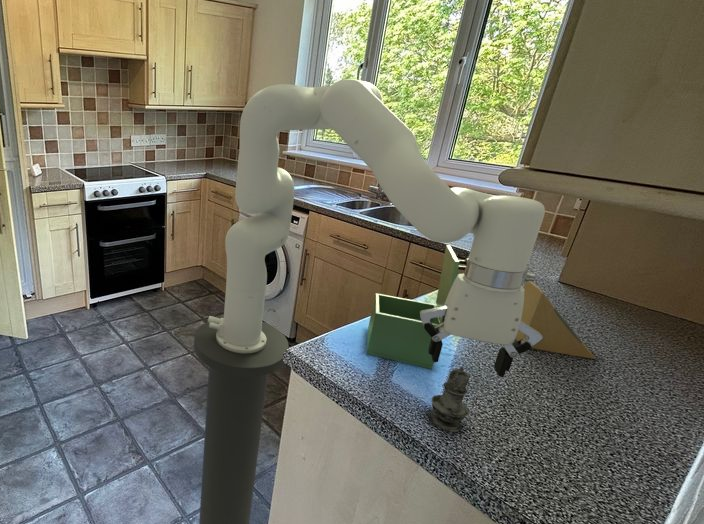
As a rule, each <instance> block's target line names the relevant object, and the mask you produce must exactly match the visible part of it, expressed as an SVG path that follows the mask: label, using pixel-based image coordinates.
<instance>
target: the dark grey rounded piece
mask: <svg viewBox="0 0 704 524" xmlns="http://www.w3.org/2000/svg"><path fill="white" fill-rule="evenodd" d="M469 380H470V375H469V374H468V373H467V372H466V371H465V369H464V367H463V366H460V367H459V369H458V368H454V369H452V370H451V371H450V372H449V375H448V378H447V381H446V382H444V383H443V388H444V389H443V392H442V394H436V395H433V396H432V397H431V399H430V400H431V401H430V402H431V406H432V410H431V411H430V412H429V413H428V419H429V420H430V422H431V423H432V424H433V425H434V426H436V427H437V428H439V429H441V430H443V431H446V432H451V433H457V432H460V431H461V429H462V424H461V421H463V420H464V419H465V418H466V417H468V415H469V409H468V407H467V406H466V405H465V404H464V403H463V399H464V397H465V395H467V394H468V390H467V386H468V383H469Z"/></svg>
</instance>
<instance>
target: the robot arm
mask: <svg viewBox="0 0 704 524" xmlns="http://www.w3.org/2000/svg"><path fill="white" fill-rule="evenodd" d="M239 121H240V122H239V150H238V159H237V168H236V169H237V170H236V181H235V190H234V191H235V203H236V206H237V207H238V208H239V210H240V211H241V212H243V213H245V214H250V215H251V216H248V217H245V218H243V219H241V220H239V221H237V222H235V223H234V224H232V226H231V227H230V228H229V229H228V230H227V232H226V234H225V238H224V239H225V240H224V246H225V255H226V279H225V280H226V281H225V283H226V285H225V294H224V295H225V296H224V309H223V317H224V318H221V317H216V316H213V315H212V316H211V315H209V316H208V318H207V321H208V323H210V324H209V328H213V329H218V331H217V333H216V340H217V342H218V343H219V344H220V345H221V346H222V347H223V348H225V349H227V350H229V351H232V352H235V353H243V354H247V353H255V352H258V351H260V350H262V349H263V348H264V347H265V345H266V335H265V334H264V333H263V332H262V331H261V328H262V321H263V320H264V309H265V300H266V293H267V292H266V291H267V281H268V272H267V265H266V260H265V259H266V256H267V255H269V254H270V253H272V252H274V251H276V250H278V249H280V248H281V247H283V245H284V244H286V242H287V240H288V237H289V235H290V230H291V223H292V217H293V208H294V201H295V190H296V189H295V184H294V180H293V177H292V176H291V174H290V173H289V172H288V171H287V170H286V169H284V168H282V167H279V159H280V144H279V138H278V135H279V133H280V132H283V131H306V130H309V131H310V130H333V131H334V132H335V133H336V134H337V136H339V137H340V139H341V140H343V142H344V143H345V144H346V146H348V147H349V149H351V150H352V151H353V152H354V154H356V155H357V156H358V158H360V159H361V160H362V161H363V163H364V164H365V165H366V166H367V167H368V168H369V169H370V170H371V173H372V175H373V177H374V179H375V181H376V182H377V183H378V185H379V186H380V188H381V189H382V191H383V193H384V195H385V196H386V197H387V199H388V200H389V202H390V203H391V204H392V205H393V206H394V208H395V209H396V210H397V211H398V212H399V213H400V214H401V215H402V216H403V217H404V219H406V220H407V221H408V223H410V224H411V225H412V226H413V227H414V229H415V230H416V231H417V232H419V233H420V234H421V235H422V236H423V237H425V238H427V239H428V240H431V241H433V242H437V243H441V244H445V243H446V244H448V243H449V244H450V243H454V242H457V241H460V240H462V239H463V238H464V237H466V236H467V235H469V233H470V234H472V235H473V236H474V237H473V240H472V243H471V247H470V251H469V255H468V257H467V258H468V262H467V265H466V269H465V270H464V272H463V273H457V277H456V279H455V281H454V283H453V285H452V287H451V289H450V291H449V294H448V296H447V299H446V302H445V305H444V306H442V307H437V308H432V309H427V310H422V311H420V317H421V320H422V323H423V326H424V329H425V330H426V331H427V332H428V334H429V335H430V336H431V337H432V338H431V342H430V345H429V349H428V353H429V354H431V356H432V360H433V362H434V363H439V359H440V356H441V353H442V349H443V344H444V343H443V340H444V339H446V338H448V337H450V336H454V337H459V338H462V339H463V338H465V339H468V340H474V341H479V342H484V343H489V344H494V345H500V346H501V347H500V348H499V350H498V353H497V355H496V359H495V361H494V365H493V368H494V370H495V373H496V374H497V376H498V377H499V378H504V377H505V374H506V372H510V369H511V366H512V363H513V361H514V359H516V358H518V357H519V355H521V354H522V353H525V352H528V351H530V350H531V349H533V348H532V346H533V345H535V344H537V343H538V342H539V341H540V340H542V338H543V337H542V335H541V334H540V333H539V332H538V331H536V330H535V329H533V328H532V327H530V326H529V325H527V324H525V323H524V322H522V321H521V317H522V311H523V305H524V284H525V283H526V281H531V282H532V283H534V281H535V280H536V273H534V272H530V271H528V270H527V269H528V265H529V263H530V260H531V257H532V253H533V252H534V251H533V250H534V248H535V245H536V242H537V239H538V236H539V233H540V229H541V227H542V224H543V221H544V218H545V213H546V208H545V205H544V204H543V203H542V202H541V201H538V200H536V199H532V198H528V197H523V196H514V195H496V194H490V193H485V192H482V191H478V190H473V189H470V188H466V187H450V186H449V185H448V184H447V183H446V182H445V181H444V180H443V179H442V178H440V176H439V175H438V174H437V172H435V171H434V170H433V169H432V168H431V166H430V165H429V164H428V162H427V161H426V160H425V158H424V156H423V155H422V152H421V151H420V148H419V144H418V139H417V137H416V134H414V131H412V130H411V129H410V127H408V126H407V125H406V124H405V123H404V122H403V121H402V120H401V119H400V118H399V117H398V116H397V115H396V114H395V113H394V112H393V111H392V110H390V109H389V108H388V106H387V105H386V104H384V99H383V95H382V92H381V90H380V89H379V88H378V87H377V86H375V85H374V84H373V83H372V82H369V81H364V80H360V79H355V78H344V79H340V80H337V81H335V82H334V83H333V84H331V85H325V86H303V85H297V84H290V83H289V84H288V83H279V84H272V85H269V86H266V87H264V88H262V89H260V90H258V91H257V92H256V93H255V94H253V95H252V96H251V97H250V98H249V100H248V101H247V102H246V104H245V105H244V107H243V109H242V113H241V116H240V120H239ZM435 317H441V322H443V323H441V324H440V325H438V326H436V327H434V326H433V324H432V323H431V322H430V319H431V318H435ZM219 318H221V319H219ZM518 330H519V331H521V332H522V333H524V334H526V335H527V336H526V337H525V338H524V339H521V340H519V341H517V340H516V336H517V333H518ZM502 346H503V347H502Z"/></svg>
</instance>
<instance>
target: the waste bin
mask: <svg viewBox="0 0 704 524" xmlns="http://www.w3.org/2000/svg"><path fill="white" fill-rule="evenodd" d="M432 308H437V304H436V303H430V302H427V301H426V302H425V301H420V300H415V299H408V298H403V297H398V296H393V295H388V294H383V293H378V292H375V294H374V298H373V303H372V307H371V312H370V317H369V321H368V326H367V332H366V333H367V335H366V355H370V356H374V357H377V358H383V359H386V360H390V361H395V362H399V363H404V364H407V365H412V366H416V367H420V368H425V369H428V370H433V368H434V365H435V362H433V360H432V356H431V354H429V353H428V349H429V345H430V342H431V338H432V337H431V336H430V335H429V334H428V332H427V331H426V330H425V329H424V326H423V323H422V320H421V317H420V311H422V310H427V309H432ZM430 322H431V323H432V324H433V326H434V327H436V326H438V325H440V324H441V323H442V322H441V317H435V318H431V319H430Z"/></svg>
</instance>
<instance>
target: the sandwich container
mask: <svg viewBox="0 0 704 524" xmlns="http://www.w3.org/2000/svg"><path fill="white" fill-rule="evenodd" d="M523 288H524V305H523V311H522V317H521V321H522V322H524V323H525V324H527V325H529V326H530V327H532V328H533V329H535V330H536V331H538V332H539V333H540V334H541V335H542V337H543V338H542V340H540V341H539V342H538V343H537V344H535V345H533V346H532V348H531V349H533V350H534V349H535V350H538V351H539V350H540V351H546V352H550V353H557V354H562V355H568V356H575V357H580V358H587V359H591V360H592V359H593V360H597V358H596V357H595V355H594V354H593V353H592V352H591V351H590V350H589V348H588V347H587V345H585V343H584V342H583V341H582V339H581V338H580V337H579V335H577V333H576V332H575V331H574V329H572V327H571V326H570V324H569V323H568V322H567V320H565V318H564V317H563V316H562V315H561V313H560V312H559V311H558V310H557V308H556V307H555V306H554V304H553V303H552V302H551V300H550V299H549V298H548V297H547V295H546V294H545V293H544V292H543V290H541V288H540V287H539V286H538V285H537V284H535V283H534V282H532V281H525V282H524V285H523ZM526 336H527V335H526V334H524V333H522V332H521V331H519V330H518V333H517V336H516V339H515V341H519V340H521V339H524V338H525V337H526Z"/></svg>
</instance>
